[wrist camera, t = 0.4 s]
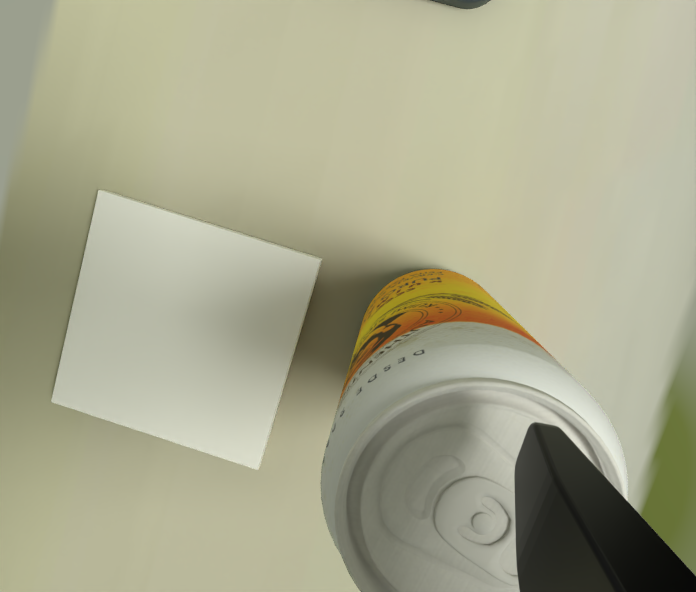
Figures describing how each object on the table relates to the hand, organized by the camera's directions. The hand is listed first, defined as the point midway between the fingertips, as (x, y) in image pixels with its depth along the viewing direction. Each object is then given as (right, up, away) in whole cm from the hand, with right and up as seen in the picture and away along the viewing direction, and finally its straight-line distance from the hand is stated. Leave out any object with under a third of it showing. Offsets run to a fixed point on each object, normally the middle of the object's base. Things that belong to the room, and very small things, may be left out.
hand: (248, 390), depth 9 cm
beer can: (+5, 0, +16) cm, 17 cm away
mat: (-6, 0, +17) cm, 18 cm away
